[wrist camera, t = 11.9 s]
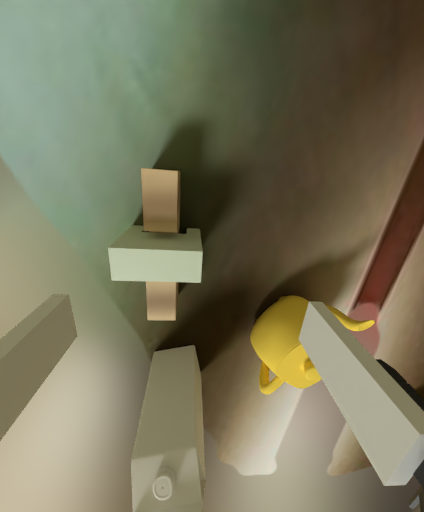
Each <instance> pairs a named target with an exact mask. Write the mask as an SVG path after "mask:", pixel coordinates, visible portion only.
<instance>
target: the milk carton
mask: <svg viewBox="0 0 424 512" xmlns="http://www.w3.org/2000/svg"><path fill="white" fill-rule="evenodd" d="M131 470H132V503H133V512H203V508H202V501H203V494H204V488H205V481H206V480H205V461H204V435H203V412H202V389H201V372H200V368H199V363H198V359H197V354H196V350H195V346H194V345H190V346H184V347H179V348H173V349H167V350H161V351H156V352H154V354H153V359H152V364H151V369H150V374H149V378H148V383H147V388H146V392H145V397H144V402H143V407H142V411H141V416H140V421H139V426H138V431H137V435H136V440H135V445H134V450H133V455H132V460H131Z"/></svg>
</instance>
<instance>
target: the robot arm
mask: <svg viewBox="0 0 424 512" xmlns="http://www.w3.org/2000/svg"><path fill="white" fill-rule="evenodd" d="M76 337H77V332H76V327H75V323H74V318H73V313H72V308H71V303H70V298H69V295H65V294H53V295H52V296H51V297H49V298H48V299H47V300H46V301H45V302H44V303H42V304H41V305H40V306H39V307H38V308H37V309H35V310H34V311H33V312H32V313H31V314H30V315H28V316H27V317H26V318H25V319H24V320H22V321H21V322H20V323H19V324H18V325H17V326H15V327H14V328H13V329H12V330H11V331H10V332H8V333H7V334H6V335H5V336H4V337H2V338H1V339H0V441H1V439H2V438H3V436H4V435H5V434H6V432H7V431H8V430H9V428H10V427H11V426H12V424H13V423H14V422H15V420H16V419H17V417H18V416H19V415H20V413H21V412H22V410H23V409H24V408H25V407H26V405H27V404H28V402H29V401H30V400H31V398H32V397H33V396H34V394H35V393H36V392H37V390H38V389H39V388H40V386H41V385H42V383H43V382H44V381H45V379H46V378H47V377H48V375H49V374H50V373H51V371H52V370H53V368H54V367H55V366H56V364H57V363H58V362H59V360H60V359H61V358H62V356H63V355H64V353H65V352H66V351H67V349H68V348H69V347H70V345H71V344H72V343H73V341H74V340H75V338H76ZM299 341H300V343H301V344H302V346H303V348H304V349H305V351H306V353H307V354H308V356H309V358H310V360H311V361H312V363H313V365H314V366H315V368H316V370H317V372H318V373H319V375H320V377H321V378H322V380H323V382H324V384H325V385H326V387H327V389H328V390H329V392H330V394H331V395H332V397H333V399H334V400H335V402H336V404H337V406H338V407H339V409H340V411H341V413H342V414H343V416H344V418H345V419H346V421H347V423H348V425H349V426H350V428H351V430H352V431H353V433H354V435H355V436H356V438H357V440H358V442H359V443H360V445H361V447H362V448H363V450H364V452H365V454H366V455H367V457H368V459H369V460H370V462H371V464H372V466H373V467H374V469H375V471H376V472H377V474H378V476H379V477H380V479H381V481H382V482H383V484H384V485H385V486H388V485H406V484H407V482H408V481H409V480H410V479H411V477H412V476H413V475H414V476H415V477H416V479H417V480H418V481H419V483H420V484H421V487H420V488H419V490H418V491H417V492H416V493H415V494H414V496H413V497H412V498H411V499H410V503H409V507H411V508H412V509H414V508H415V507H416V506H417V505H418V503H419V502H420V509H421V512H424V399H423V398H422V397H421V396H420V395H419V394H417V392H416V391H415V389H414V388H413V387H412V386H411V385H410V384H407V381H406V380H405V379H404V378H403V377H402V376H401V375H400V374H399V373H398V372H397V371H396V370H395V369H393V368H392V367H391V366H389V365H388V364H386V363H385V362H384V361H382V360H377V359H375V358H374V357H373V356H372V355H371V354H370V353H369V352H368V351H367V350H366V349H365V348H364V347H363V346H362V345H361V343H360V342H359V341H358V340H357V339H356V338H355V337H354V336H353V335H352V334H351V333H350V332H349V331H348V329H347V328H346V327H345V326H344V325H343V324H342V323H341V322H340V321H339V320H338V319H337V318H336V316H335V315H334V314H333V313H332V312H331V311H330V310H329V309H328V308H327V307H326V306H325V305H324V304H323V302H313V301H309V303H308V307H307V311H306V314H305V318H304V321H303V325H302V328H301V332H300V336H299Z"/></svg>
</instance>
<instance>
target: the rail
mask: <svg viewBox="0 0 424 512" xmlns="http://www.w3.org/2000/svg"><path fill="white" fill-rule="evenodd" d="M141 175H142V199H143V222H144V231H149V232H154V233H174V234H179V230H180V180H181V171H174V170H162V169H147V168H141ZM146 292H147V315H148V320H176V311H177V302H178V282H155V281H146Z"/></svg>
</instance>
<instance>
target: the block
mask: <svg viewBox="0 0 424 512" xmlns="http://www.w3.org/2000/svg"><path fill="white" fill-rule="evenodd" d="M108 251H109V260H110V269H111V278H112V280H115V281H155V282H196V283H201V271H202V255H203V250H202V242H201V235H200V229H195V228H187V234H174V233H154V232H146V231H144V226H137V225H132V226H131V227H130V228H129V229H128V230H127V231H126V232H125V233H124V234H123V235H121V236H120V237H119V238H118V239H117V240H116V241H115V242H114V243H113V244H112V245H111V246H110V247H108Z"/></svg>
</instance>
